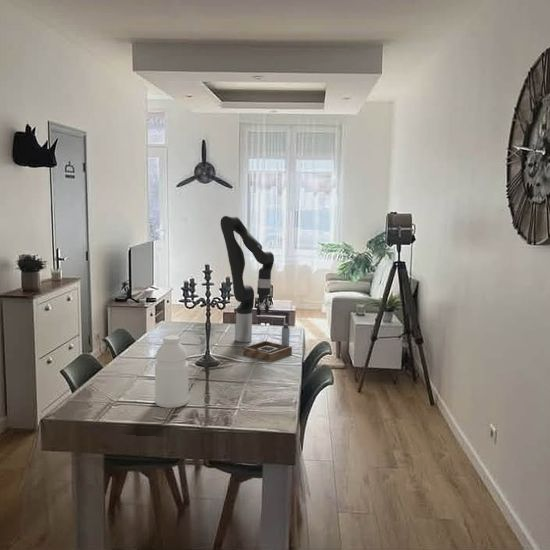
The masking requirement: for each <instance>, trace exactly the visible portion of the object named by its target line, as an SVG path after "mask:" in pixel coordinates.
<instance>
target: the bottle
mask: <svg viewBox="0 0 550 550" xmlns="http://www.w3.org/2000/svg"><path fill="white" fill-rule="evenodd" d="M180 341H181V339H180V337H179V336H178V335H172V334H171V335H165V336H164V337H163V338H162V342H163V343H162V344H161V345H160V346H159V347H158V349H157V351H156V353H155V356H154V357H155V358H154V359H156V360H157V361H156V363H154V382H155V383H154V388H155V389H154V395H155V396H154V402H155V405H156V406H158V407H161V408H166V409H172V408H173V409H174V408H179V407H183V406H185V405H186V404H188V402H189V398H190V396H189V365H190V364H189V362H188V361H187V360H186V359H187V358H188V357H189V356H188V352H187V350H186V348H185V346H184V345H183V344H182V343H180Z"/></svg>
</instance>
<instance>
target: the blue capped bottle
mask: <svg viewBox="0 0 550 550" xmlns="http://www.w3.org/2000/svg"><path fill="white" fill-rule="evenodd" d="M281 344H282V345H286V346H290V327H289V323H283V325H282V327H281Z"/></svg>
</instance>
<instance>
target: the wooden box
mask: <svg viewBox="0 0 550 550" xmlns="http://www.w3.org/2000/svg"><path fill="white" fill-rule="evenodd" d="M292 347H293V346H290V345H289V346H286V345H282V343H277V342H272V341H269V340H263V341H260V342H256V343H253V344H250V345H246V346H244V347H242V349H243V350H242V351H243V352H242V355H245V356H248V357H252V358H256V359H260V360H264V361H268V362H271V361H276V360H278V359H281V358H284V357H286V356H289V355H292V353H293V351H292V350H293V348H292Z"/></svg>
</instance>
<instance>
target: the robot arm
mask: <svg viewBox="0 0 550 550" xmlns="http://www.w3.org/2000/svg"><path fill="white" fill-rule="evenodd" d="M220 229H221V232H222V235H223V239H224V242H225V243H224V244H225V247H226V252H227V258H228V262H229V267H230V273H231V279H232V289H233V294H234V295H233V296H234V299H235V300H236V301H237V302H239V305H238V306H237V307H236V315H235V316H236V317H235V318H236V319H235V320H236V324H235V325H234V340H235V341H236V342H239V343H250V342H252V338H253V337H252V335H253V333H252V332H253V308H255V309H256V315H257V316H261V314H262V313H261V311H262V307H263V306H265V307H264V313H265V314H269V312H270V306H272V302H273V301H272V297H273V295H271V287H272V283H271V282H272V280H271V279H272V269H273V266H274V262H275V255H274V253H273V252H272V251H264V250H263V246H262V244H261V243H260V242H259V241H258V240H257V239H256V238H255V237H254V236H253V235H252V234H251V233H250V231H249V230H248V229H247V228H246V226H245V224H243V222H242V220H241V219H240V218H239V216H236V215H224V216H222V217H221V219H220ZM235 233H237V235H239V237H240V238H241V240H242V242H243V244H244V246H245V247H246V248H247V250H248V251H249V252H251V254H252V255H253V257H254V258H255V260H256V262H258V264H261V265H262V266H261V267H260V268H259V270H258V280H257V288H256V289H257V291H256V292H257V293H256V294H257V295H258V297H255V290H254V288H253V287H252V286H251V285H249V284H247V285H246V284H244V271H245V266H246V258H245V255H244V251H243V249H242V247H241V245H240V244H239V243H238V241H237V239H236V236H235Z"/></svg>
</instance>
